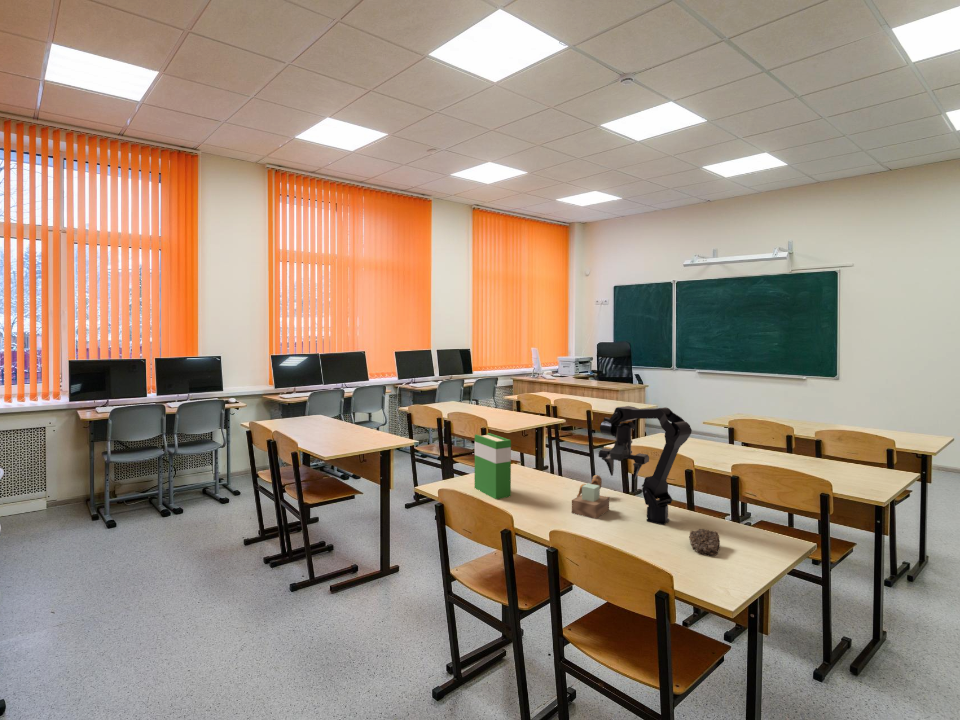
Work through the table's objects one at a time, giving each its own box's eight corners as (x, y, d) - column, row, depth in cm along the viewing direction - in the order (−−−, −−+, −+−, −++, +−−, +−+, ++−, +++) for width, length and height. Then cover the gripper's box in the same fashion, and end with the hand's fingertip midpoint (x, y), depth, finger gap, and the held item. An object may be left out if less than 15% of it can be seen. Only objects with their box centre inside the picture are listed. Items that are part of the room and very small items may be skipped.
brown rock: (692, 539, 175) (693, 524, 174) (725, 547, 169) (725, 532, 168) (682, 550, 166) (682, 535, 165) (716, 559, 159) (716, 543, 159)
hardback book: (474, 488, 231) (474, 434, 229) (488, 485, 235) (488, 433, 233) (495, 499, 216) (495, 442, 214) (510, 496, 219) (510, 440, 218)
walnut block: (609, 509, 203) (609, 497, 203) (595, 518, 193) (596, 505, 193) (585, 504, 209) (585, 492, 209) (571, 512, 200) (571, 500, 199)
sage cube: (599, 498, 201) (599, 485, 201) (593, 501, 197) (594, 488, 197) (587, 495, 204) (587, 483, 204) (581, 499, 200) (582, 486, 200)
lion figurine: (593, 493, 223) (594, 473, 223) (604, 496, 220) (605, 475, 219) (573, 501, 213) (573, 479, 213) (584, 504, 209) (584, 482, 209)
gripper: (592, 438, 204) (592, 477, 205) (639, 445, 192) (638, 486, 193) (604, 434, 213) (604, 471, 213) (650, 440, 201) (649, 479, 202)
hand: (623, 477), depth 205 cm, fingers open, 9 cm apart
